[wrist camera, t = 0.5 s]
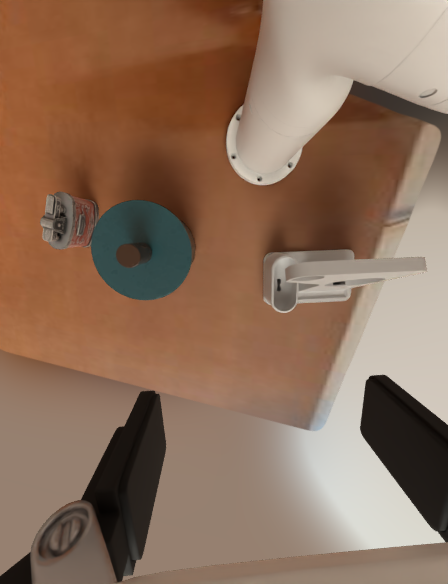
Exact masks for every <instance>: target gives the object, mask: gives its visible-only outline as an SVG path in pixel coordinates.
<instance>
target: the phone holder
mask: <svg viewBox="0 0 448 584" xmlns="http://www.w3.org/2000/svg"><path fill="white" fill-rule="evenodd" d="M424 272H427V268H426V261H425V257H407V258H384V259H361V260H354V253H353V251H351V250H347V249H343V250H319V251H296V252H273V253H268V254H266V255H265V257H264V259H263V299H264V301H265V302H266V303H267V304H270V305H271V306H272V307H273V308H274V309H275V310H276V311H278V312H281V313H286V312H289V311H291V310H293V309H294V308H295V306H296V304H297V303H312V302H332V301H345V300H347V299H348V298H349V297H350V295H351V288H354V287H359V286H363V285H368V284H373V283H378V282H382V281H387V280H392V279H397V278H401V277H406V276H410V275H415V274H420V273H424Z"/></svg>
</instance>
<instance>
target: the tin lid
mask: <svg viewBox="0 0 448 584" xmlns="http://www.w3.org/2000/svg"><path fill="white" fill-rule="evenodd" d="M91 251H92V257H93V261H94V264H95V266H96V269H97V271H98V272H99V274H100V276H101V277H102V278H103V280H104V281H105V282H106V283H107V284H108V285H109V286H110V287H111V288H113V289H114V290H115V291H117V292H119V293H120V294H122V295H124V296H127V297H129V298H133V299H138V300H154V299H158V298H161V297H164V296H166V295H168V294H170V293H172V292H173V291H175V290H176V289H177V288H178V287H179V286H180V285H181V284H182V282H183V281H184V280H185V278H186V276H187V274H188V272H189V270H190V266H191V262H192V245H191V241H190V238H189V235H188V233H187V231H186V229H185V227H184V225H183V224H182V223H181V221H180V220H179V219H178V218H177V217H176V216H175V215H174V214H173V213H172V212H170V211H169V210H168V209H166V208H164V207H162V206H161V205H159V204H156V203H153V202H149V201H145V200H130V201H126V202H122V203H120V204H117V205H115V206H113V207H112V208H110V209H109V210H108V211H106V212H105V213H104V214H103V215H102V217H101V218H100V219H99V221H98V222H97V224H96V226H95V229H94V232H93V235H92V241H91Z"/></svg>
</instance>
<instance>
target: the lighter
mask: <svg viewBox="0 0 448 584" xmlns="http://www.w3.org/2000/svg"><path fill="white" fill-rule="evenodd" d="M98 220H99V212H98V205H97V204H96V203H95V202H94V201H92V200H88V199H81V198H77V197H74V196H71V195H70V194H67V193H64V192H57V193H55V194H54V195H51V194H49V195H47V200H46V210H45V215H44V216H43V217H42V218H41V221H40V224H41V226H42V227H43V239H44V240H45V241H48V242H49V244H50V245H51V246H52V247H53V248H55V249H66V248H68V247H90V246H91V241H92V235H93V232H94V229H95V226H96V224H97V222H98Z"/></svg>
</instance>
